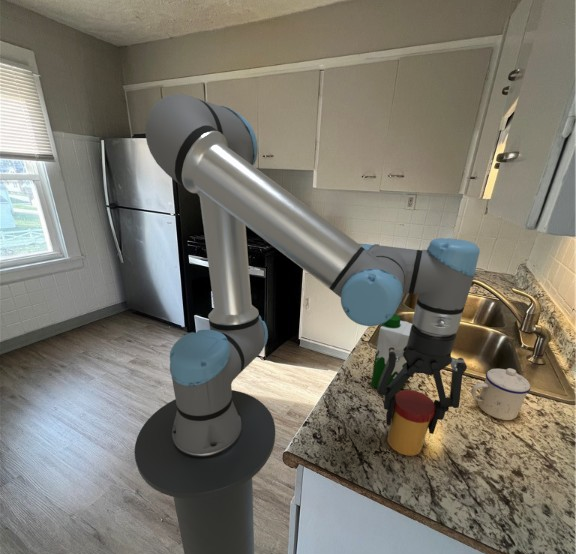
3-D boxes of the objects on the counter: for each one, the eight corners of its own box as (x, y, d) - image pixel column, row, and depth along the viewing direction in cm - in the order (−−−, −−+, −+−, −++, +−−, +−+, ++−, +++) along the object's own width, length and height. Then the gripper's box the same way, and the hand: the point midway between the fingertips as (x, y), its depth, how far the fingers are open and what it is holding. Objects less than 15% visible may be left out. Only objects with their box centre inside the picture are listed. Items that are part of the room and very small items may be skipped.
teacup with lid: (504, 397, 83) (519, 360, 78) (526, 422, 75) (545, 382, 70) (458, 395, 83) (470, 358, 78) (475, 419, 75) (490, 379, 70)
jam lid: (393, 418, 61) (395, 411, 61) (392, 393, 68) (393, 386, 68) (436, 427, 60) (438, 419, 59) (430, 400, 67) (432, 393, 66)
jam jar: (385, 449, 66) (394, 410, 62) (388, 426, 72) (396, 389, 68) (422, 460, 64) (434, 420, 59) (421, 435, 70) (432, 397, 65)
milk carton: (376, 371, 92) (388, 309, 83) (408, 382, 88) (423, 317, 79) (367, 386, 85) (378, 320, 77) (400, 399, 81) (416, 330, 72)
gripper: (374, 329, 55) (358, 426, 65) (505, 347, 50) (466, 449, 60) (375, 312, 62) (360, 403, 71) (491, 327, 57) (458, 422, 67)
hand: (408, 424), depth 66 cm, fingers closed on jam lid, 8 cm apart
